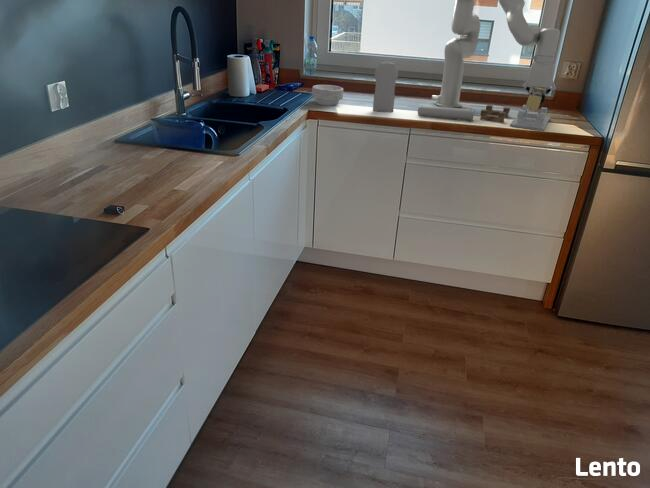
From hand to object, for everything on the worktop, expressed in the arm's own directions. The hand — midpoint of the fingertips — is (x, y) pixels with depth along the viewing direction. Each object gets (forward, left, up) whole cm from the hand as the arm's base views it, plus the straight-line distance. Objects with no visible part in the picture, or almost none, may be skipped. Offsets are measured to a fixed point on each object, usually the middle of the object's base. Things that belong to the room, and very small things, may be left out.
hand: (535, 102), depth 225 cm
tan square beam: (0, 0, 0) cm, 0 cm away
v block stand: (0, 0, -9) cm, 9 cm away
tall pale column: (-64, -19, -9) cm, 68 cm away
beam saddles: (-16, 0, -9) cm, 19 cm away
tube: (-36, -14, -9) cm, 40 cm away
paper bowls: (-93, -20, -9) cm, 96 cm away
